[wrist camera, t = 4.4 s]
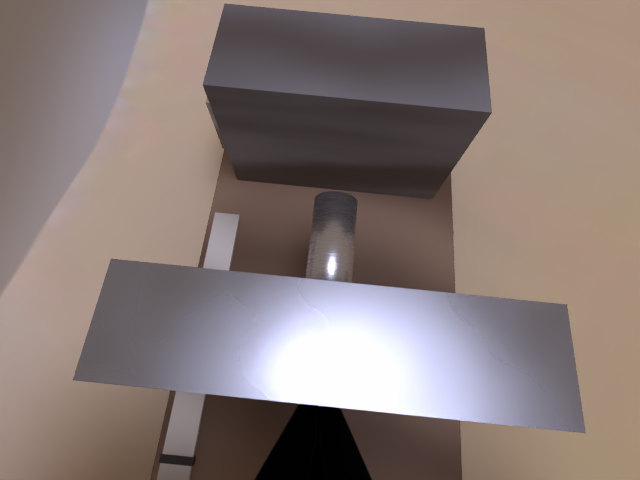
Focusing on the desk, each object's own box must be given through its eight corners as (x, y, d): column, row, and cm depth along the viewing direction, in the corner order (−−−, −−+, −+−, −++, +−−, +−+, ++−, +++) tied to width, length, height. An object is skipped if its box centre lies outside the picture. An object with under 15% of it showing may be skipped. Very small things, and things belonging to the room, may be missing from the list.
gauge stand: (449, 521, 15) (587, 662, 8) (160, 490, 15) (15, 599, 8) (440, 152, 21) (510, 30, 14) (237, 132, 22) (198, 1, 14)
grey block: (413, 399, 15) (585, 433, 6) (171, 374, 15) (-54, 366, 6) (414, 250, 17) (537, 98, 8) (204, 229, 17) (82, 55, 8)
